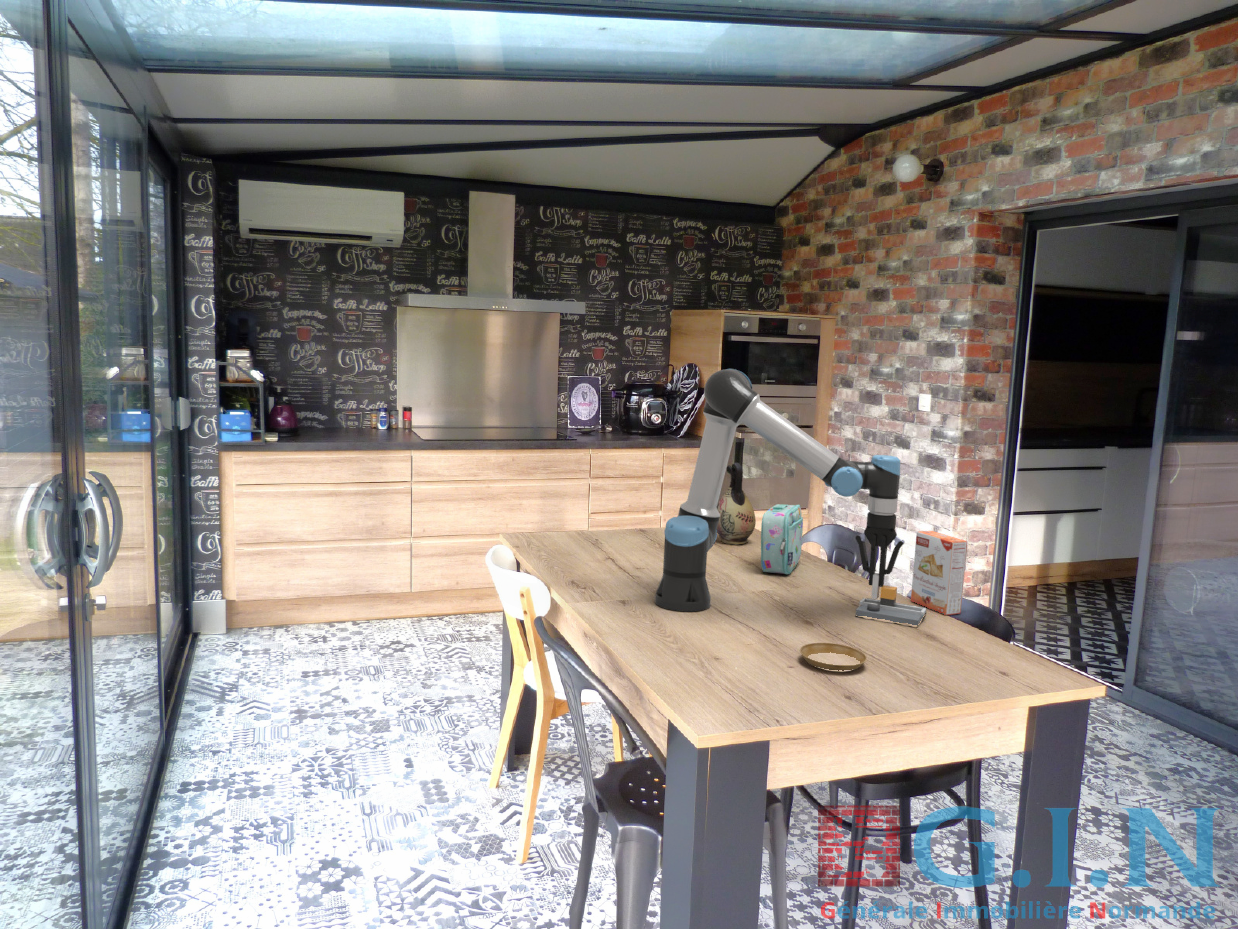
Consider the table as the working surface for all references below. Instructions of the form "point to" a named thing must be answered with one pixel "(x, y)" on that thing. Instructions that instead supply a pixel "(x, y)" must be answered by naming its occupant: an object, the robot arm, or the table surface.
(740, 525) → the ceramic jug
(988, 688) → the table surface
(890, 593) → the fader tab
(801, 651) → the plant saucer
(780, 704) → the table surface
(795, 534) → the lunch box
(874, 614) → the console
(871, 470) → the robot arm
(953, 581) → the cracker box
